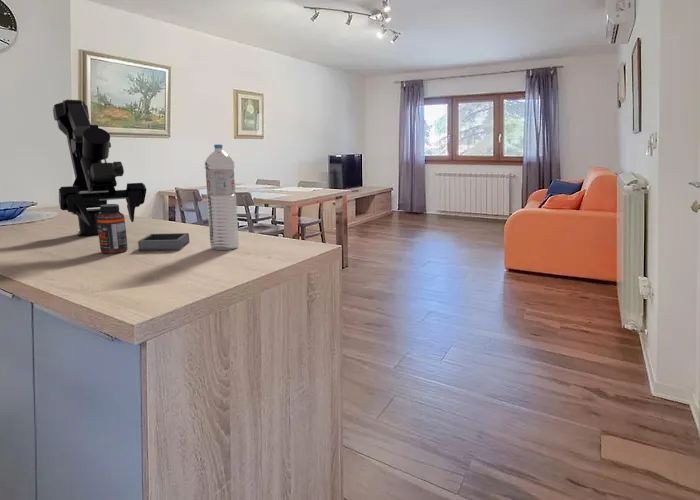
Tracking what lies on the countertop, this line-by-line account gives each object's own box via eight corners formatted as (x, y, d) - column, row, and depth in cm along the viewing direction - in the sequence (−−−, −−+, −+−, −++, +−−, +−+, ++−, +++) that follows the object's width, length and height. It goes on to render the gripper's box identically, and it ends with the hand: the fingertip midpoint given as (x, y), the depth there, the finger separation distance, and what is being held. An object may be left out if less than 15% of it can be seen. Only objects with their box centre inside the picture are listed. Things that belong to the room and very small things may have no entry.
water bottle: (231, 251, 115) (225, 144, 110) (205, 250, 117) (197, 144, 111) (243, 245, 122) (237, 144, 116) (218, 244, 123) (211, 144, 118)
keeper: (138, 251, 116) (137, 241, 116) (151, 243, 125) (150, 233, 125) (179, 250, 117) (178, 240, 116) (189, 242, 126) (188, 233, 126)
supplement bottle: (95, 252, 115) (89, 205, 112) (117, 248, 120) (112, 202, 118) (111, 255, 112) (105, 206, 110) (133, 250, 117) (128, 204, 115)
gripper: (53, 151, 109) (67, 204, 103) (140, 149, 120) (157, 197, 114) (54, 184, 117) (66, 235, 110) (135, 180, 128) (151, 226, 121)
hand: (112, 222), depth 114 cm, fingers open, 9 cm apart
